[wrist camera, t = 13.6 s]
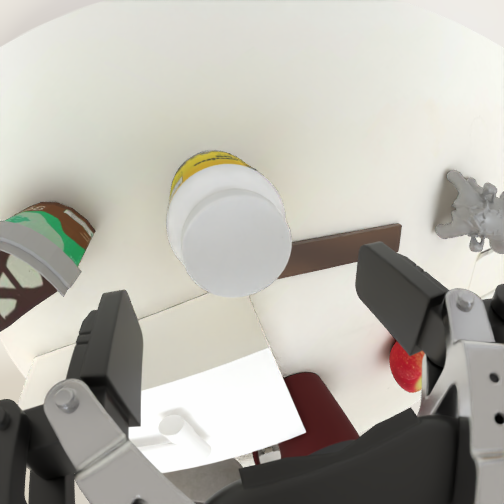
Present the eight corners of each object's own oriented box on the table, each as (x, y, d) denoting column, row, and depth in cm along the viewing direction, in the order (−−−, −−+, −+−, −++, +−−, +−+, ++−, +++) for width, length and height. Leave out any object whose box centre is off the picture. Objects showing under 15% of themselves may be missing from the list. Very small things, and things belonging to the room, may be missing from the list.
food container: (70, 155, 18) (1, 186, 9) (109, 221, 21) (71, 291, 12) (-19, 235, 18) (-80, 292, 9) (17, 287, 21) (-29, 359, 12)
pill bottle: (263, 163, 22) (332, 204, 12) (236, 236, 24) (277, 321, 14) (185, 138, 20) (189, 155, 10) (160, 216, 22) (149, 298, 12)
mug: (252, 425, 37) (273, 490, 27) (227, 396, 33) (247, 475, 23) (330, 391, 37) (364, 452, 28) (319, 357, 33) (360, 429, 23)
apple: (381, 332, 34) (425, 386, 25) (429, 308, 35) (474, 352, 26) (375, 371, 38) (410, 420, 29) (419, 348, 39) (455, 389, 30)
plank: (243, 251, 25) (245, 254, 24) (398, 223, 27) (401, 225, 27) (246, 281, 26) (248, 285, 26) (395, 249, 29) (398, 252, 28)
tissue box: (281, 374, 33) (314, 450, 23) (106, 426, 31) (103, 494, 22) (242, 279, 26) (280, 372, 16) (34, 357, 24) (8, 436, 15)
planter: (230, 422, 35) (264, 544, 19) (244, 441, 39) (277, 545, 22) (118, 446, 34) (122, 554, 17) (142, 463, 37) (151, 559, 21)
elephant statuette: (431, 171, 26) (487, 193, 19) (487, 157, 27) (533, 174, 20) (429, 248, 30) (474, 280, 23) (483, 222, 31) (523, 245, 25)
